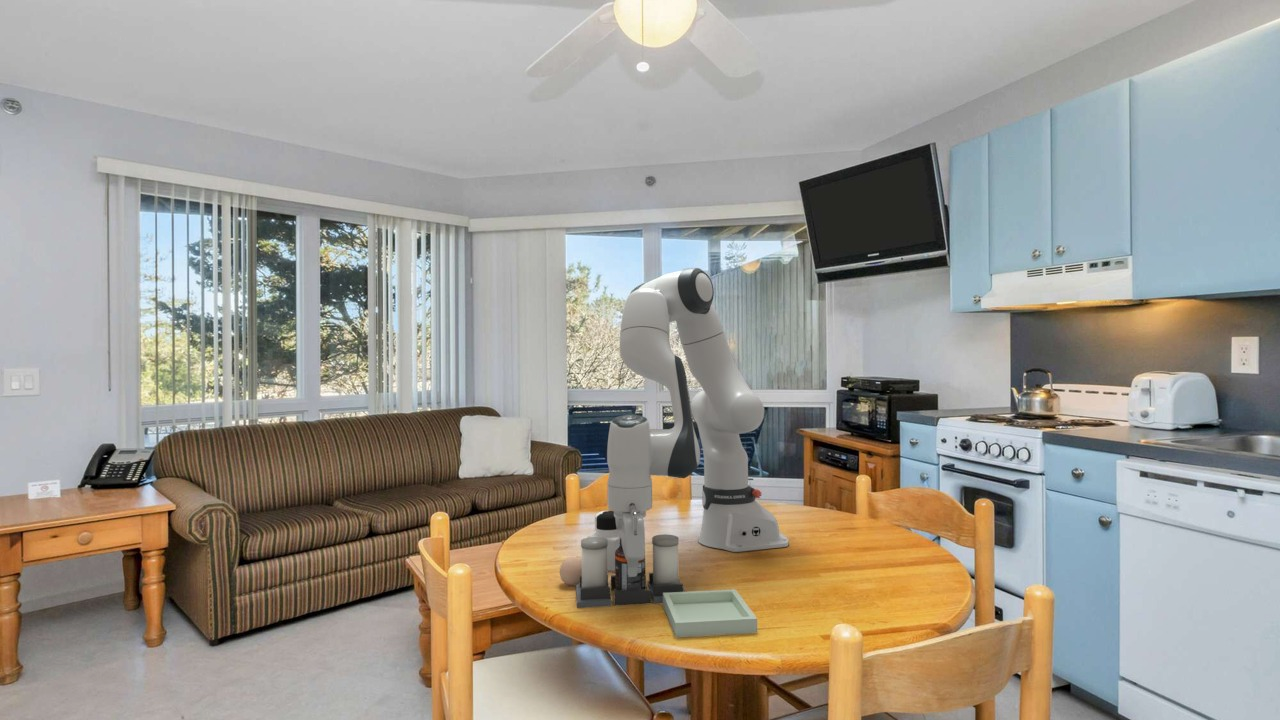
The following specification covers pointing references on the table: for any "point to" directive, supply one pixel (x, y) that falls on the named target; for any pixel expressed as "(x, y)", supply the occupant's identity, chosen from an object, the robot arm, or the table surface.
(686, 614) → the tray
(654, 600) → the fuse holder
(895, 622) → the table surface
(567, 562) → the egg
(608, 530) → the medicine bottle
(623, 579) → the supplement bottle
